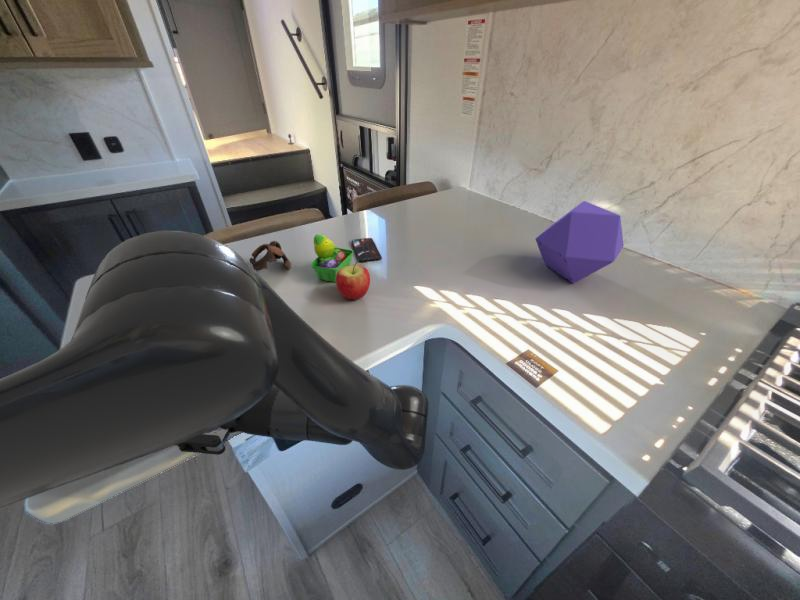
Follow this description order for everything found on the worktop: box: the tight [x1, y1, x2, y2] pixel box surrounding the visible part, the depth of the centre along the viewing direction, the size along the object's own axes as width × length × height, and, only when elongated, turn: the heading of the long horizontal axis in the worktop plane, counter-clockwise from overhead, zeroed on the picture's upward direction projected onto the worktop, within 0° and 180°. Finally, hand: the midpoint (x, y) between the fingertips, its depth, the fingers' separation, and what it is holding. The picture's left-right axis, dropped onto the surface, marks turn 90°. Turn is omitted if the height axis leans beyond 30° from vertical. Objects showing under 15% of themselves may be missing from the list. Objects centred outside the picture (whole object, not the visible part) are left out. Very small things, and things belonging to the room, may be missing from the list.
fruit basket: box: [310, 233, 354, 283], centre depth 86 cm, size 11×9×11 cm
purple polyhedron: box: [535, 200, 625, 285], centre depth 87 cm, size 22×20×20 cm
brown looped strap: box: [248, 240, 292, 272], centre depth 90 cm, size 12×10×8 cm
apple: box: [335, 259, 371, 300], centre depth 78 cm, size 8×8×10 cm
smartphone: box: [351, 237, 383, 263], centre depth 101 cm, size 7×1×15 cm
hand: (180, 395), depth 46 cm, fingers open, 8 cm apart
